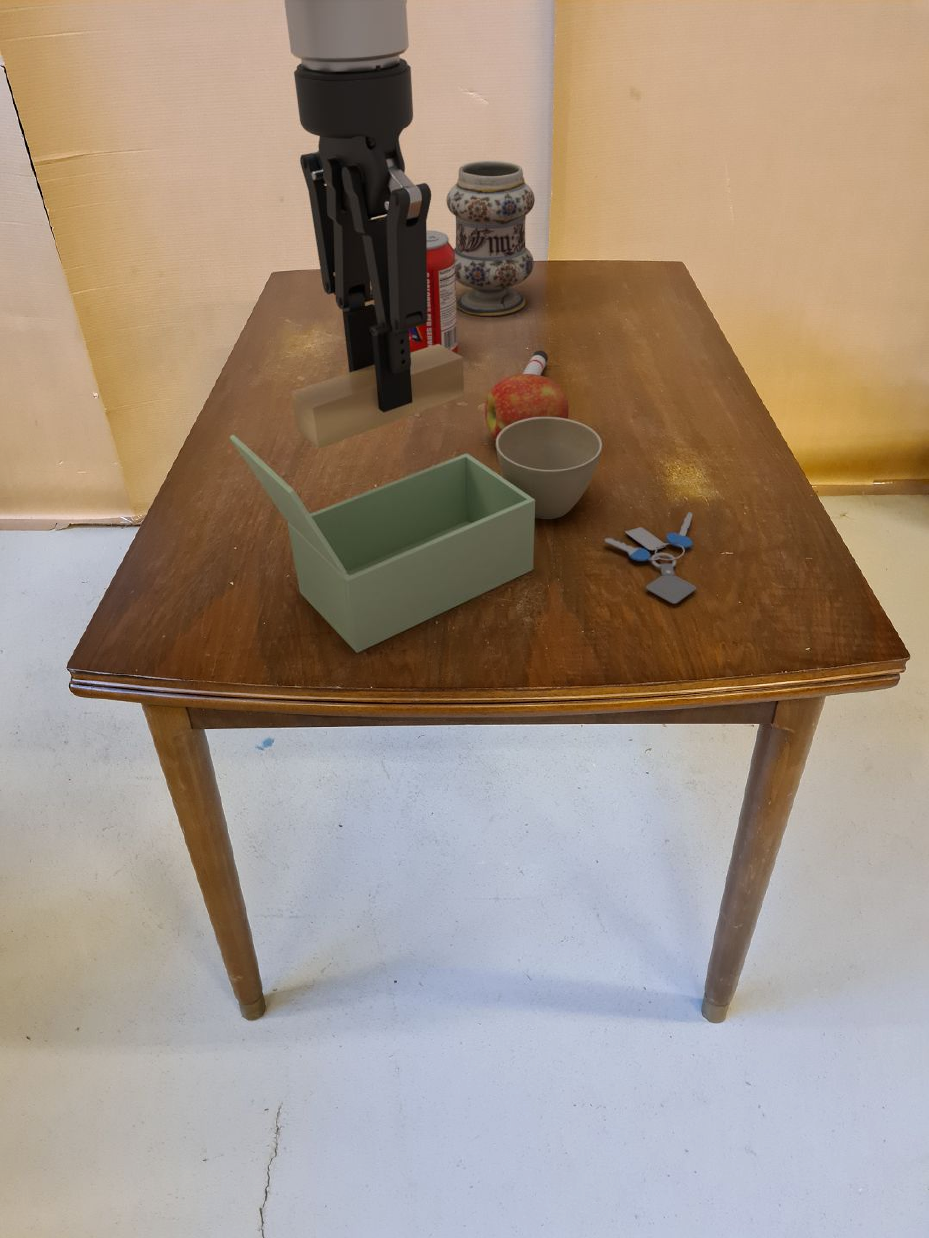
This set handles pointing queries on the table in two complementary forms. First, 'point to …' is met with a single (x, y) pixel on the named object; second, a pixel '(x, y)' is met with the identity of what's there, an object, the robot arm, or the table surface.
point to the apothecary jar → (491, 236)
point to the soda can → (438, 297)
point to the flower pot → (549, 461)
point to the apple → (523, 401)
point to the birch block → (374, 397)
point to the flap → (288, 503)
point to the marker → (536, 363)
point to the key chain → (667, 582)
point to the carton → (415, 549)
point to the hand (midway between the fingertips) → (381, 395)
